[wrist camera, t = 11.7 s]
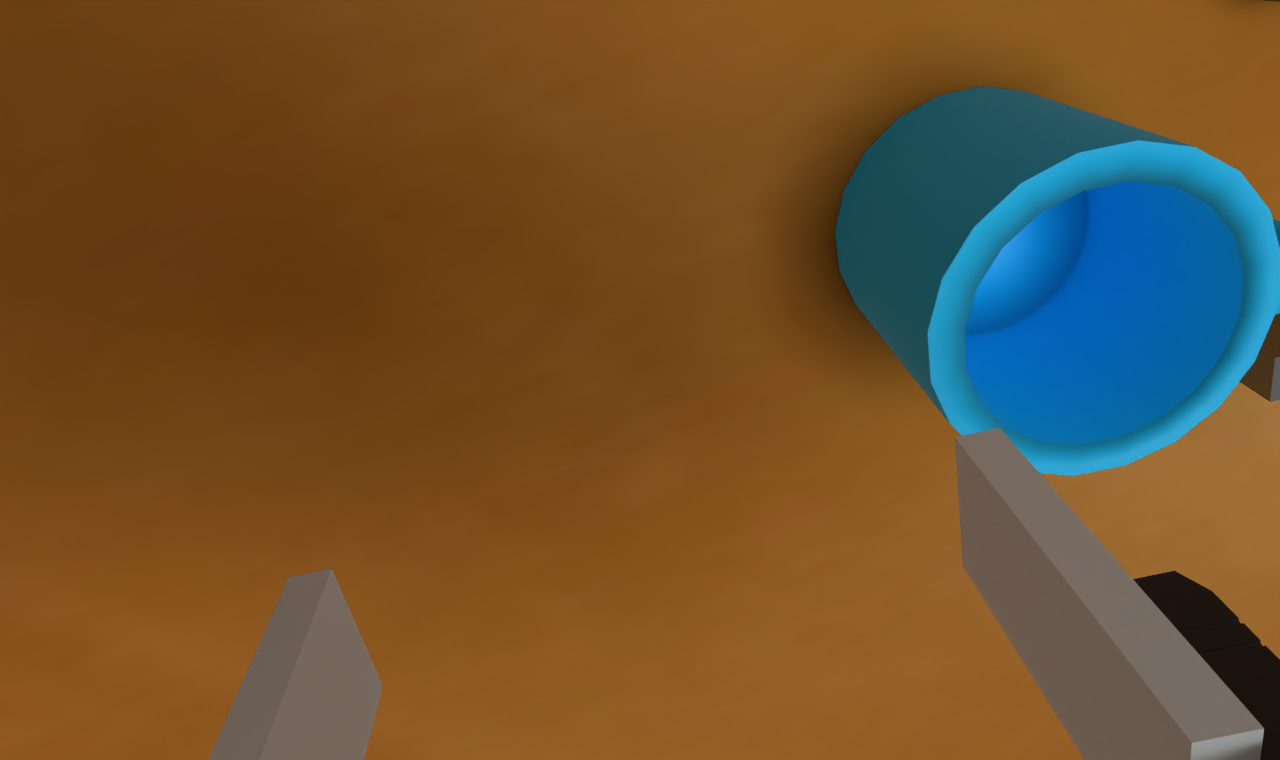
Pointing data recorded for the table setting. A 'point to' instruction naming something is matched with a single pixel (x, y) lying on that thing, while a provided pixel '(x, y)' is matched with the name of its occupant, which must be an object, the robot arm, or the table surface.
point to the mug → (1059, 273)
